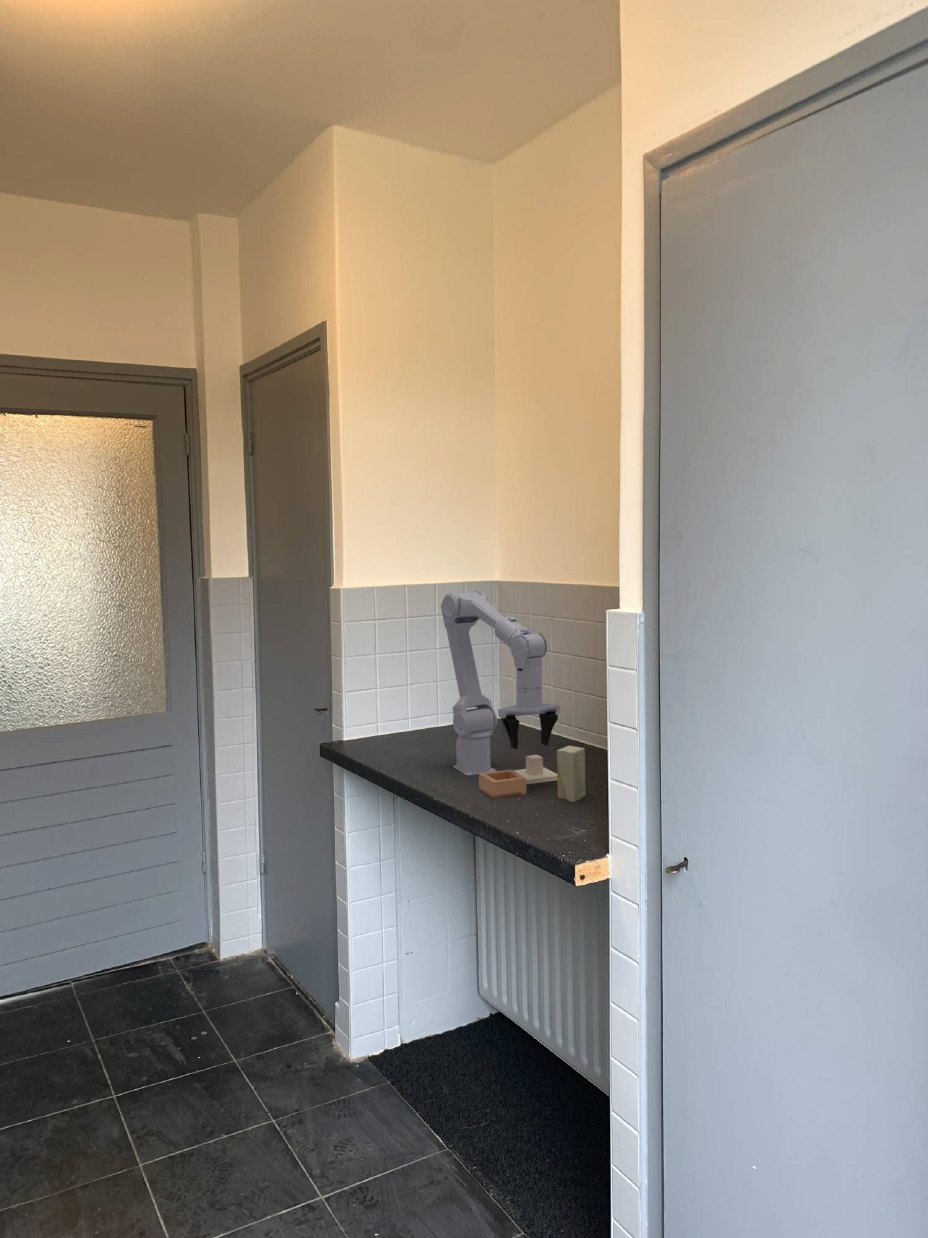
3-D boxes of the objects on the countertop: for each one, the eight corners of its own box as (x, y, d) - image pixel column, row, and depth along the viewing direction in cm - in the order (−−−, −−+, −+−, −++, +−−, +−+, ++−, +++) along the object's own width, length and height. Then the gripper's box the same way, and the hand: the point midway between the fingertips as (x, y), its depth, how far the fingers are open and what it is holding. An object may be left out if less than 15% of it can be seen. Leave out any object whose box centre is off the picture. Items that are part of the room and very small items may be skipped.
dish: (479, 791, 204) (478, 773, 203) (511, 786, 207) (510, 769, 206) (493, 800, 196) (493, 782, 196) (526, 795, 199) (526, 778, 199)
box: (569, 793, 200) (569, 745, 199) (586, 797, 198) (586, 747, 197) (556, 799, 196) (556, 749, 195) (573, 803, 194) (573, 752, 193)
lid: (509, 774, 216) (508, 754, 215) (542, 770, 219) (542, 750, 219) (525, 783, 208) (525, 763, 207) (560, 779, 211) (560, 758, 211)
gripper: (507, 692, 196) (507, 753, 197) (566, 687, 201) (566, 746, 203) (494, 687, 203) (494, 746, 204) (551, 682, 208) (552, 740, 209)
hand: (529, 746), depth 204 cm, fingers open, 7 cm apart
